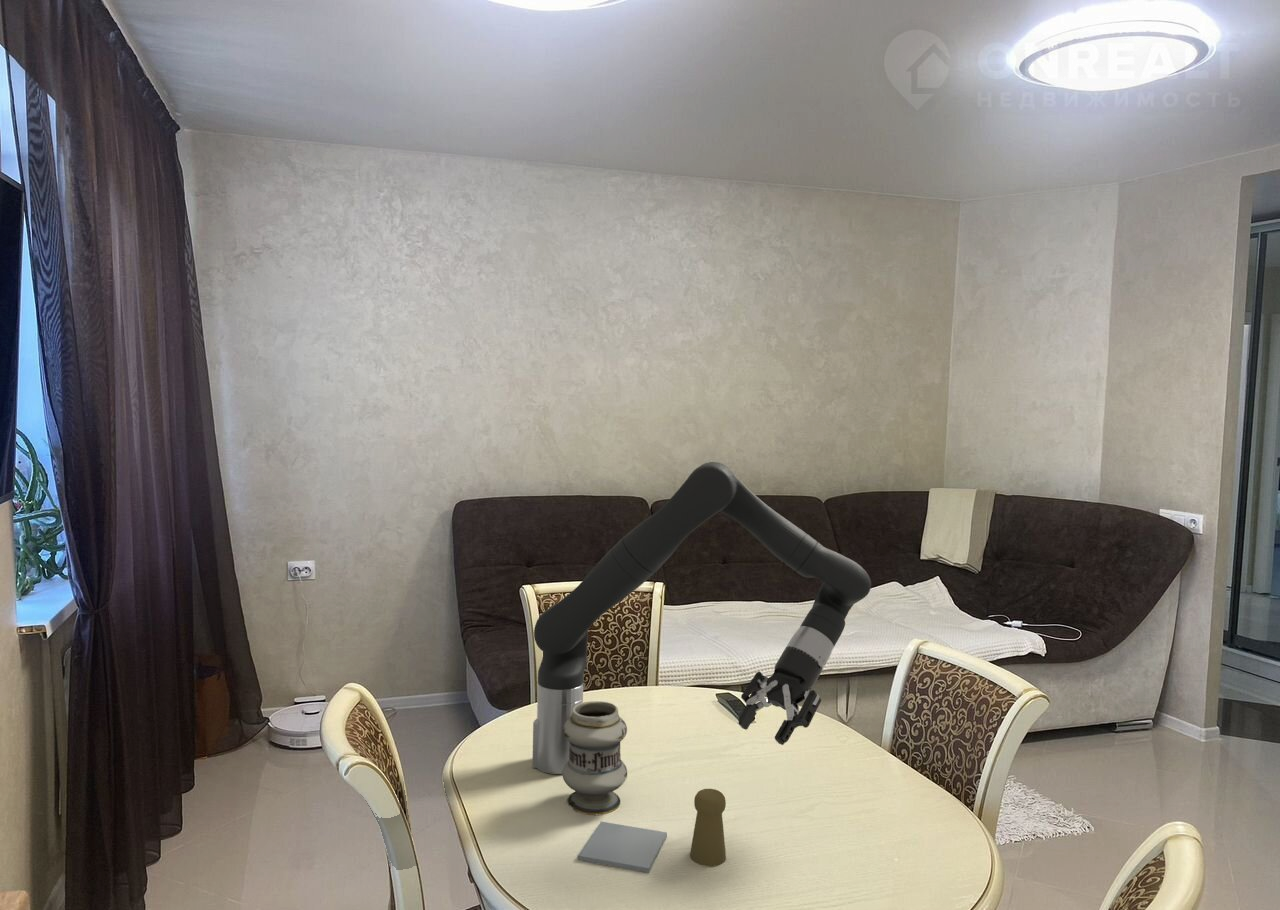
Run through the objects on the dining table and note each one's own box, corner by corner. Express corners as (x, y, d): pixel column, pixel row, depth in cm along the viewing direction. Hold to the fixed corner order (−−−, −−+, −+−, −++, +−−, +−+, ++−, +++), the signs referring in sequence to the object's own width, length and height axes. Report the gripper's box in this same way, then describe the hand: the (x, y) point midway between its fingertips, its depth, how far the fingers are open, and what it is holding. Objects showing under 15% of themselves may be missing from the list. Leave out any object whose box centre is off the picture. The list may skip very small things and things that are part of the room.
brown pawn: (724, 868, 141) (726, 802, 140) (687, 863, 142) (689, 798, 142) (728, 849, 147) (730, 786, 146) (692, 845, 148) (694, 782, 147)
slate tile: (577, 860, 142) (577, 855, 142) (600, 825, 154) (601, 821, 154) (648, 873, 139) (649, 868, 139) (667, 836, 151) (667, 832, 151)
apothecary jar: (549, 798, 164) (551, 704, 163) (601, 782, 171) (604, 692, 170) (585, 824, 154) (587, 725, 153) (639, 806, 162) (642, 711, 160)
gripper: (765, 637, 162) (720, 711, 155) (827, 655, 151) (781, 735, 144) (783, 660, 165) (740, 733, 159) (845, 679, 155) (801, 758, 148)
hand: (759, 734), depth 152 cm, fingers open, 8 cm apart
